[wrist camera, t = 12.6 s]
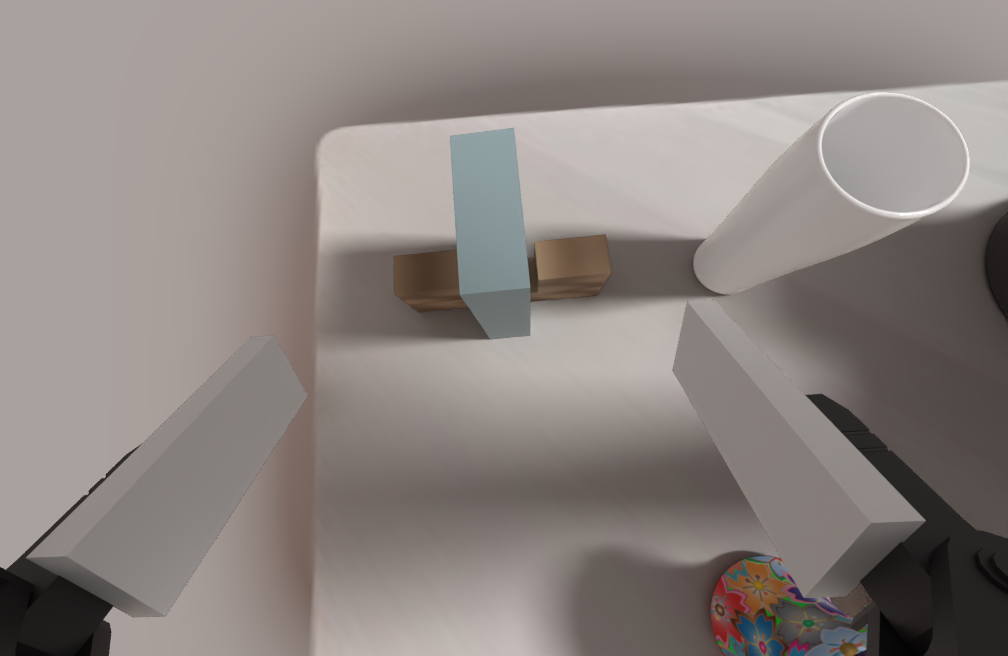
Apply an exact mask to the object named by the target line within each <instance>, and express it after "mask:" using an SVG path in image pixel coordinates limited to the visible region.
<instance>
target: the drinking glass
mask: <svg viewBox="0 0 1008 656" xmlns="http://www.w3.org/2000/svg"><path fill="white" fill-rule="evenodd" d="M969 167H970V159H969V152H968V148H967V145H966V142H965V140H964V138H963V136H962V134H961V132H960V131H959V129H958V128H957V127H956V125H955V124H954V123H953V122H952V121H951V120H950V119H949V118H948V117H947V116H946V115H945V114H944V113H943V112H941V111H940V110H939V109H937V108H936V107H934V106H932V105H931V104H929V103H927V102H925V101H923V100H920V99H918V98H915V97H912V96H908V95H905V94H900V93H893V92H873V93H866V94H861V95H858V96H855V97H852V98H849V99H847V100H845V101H843V102H841V103H840V104H838V105H837V106H835V107H834V108H833V109H831V110H830V111H829V112H828V113H827V114H826V115H825V116H824V117H822V118H821V119H820V120H819V121H818V122H817V123H815V124H814V125H813V126H812V127H811V128H810V129H809V130H807V131H806V132H805V133H804V134H803V135H802V136H801V137H800V138H799V139H798V140H796V141H795V142H794V143H793V144H792V145H791V146H790V147H789V148H788V149H787V150H786V151H785V152H784V153H783V154H782V155H781V156H780V157H779V158H778V159H777V160H776V161H775V162H774V163H773V164H772V165H771V166H770V167H769V168H768V170H767V171H766V172H765V173H764V174H763V175H762V176H761V177H760V179H759V180H758V181H757V182H756V183H755V184H754V186H753V187H752V188H751V189H750V190H749V191H748V193H747V194H746V195H745V196H744V197H743V198H742V200H741V201H740V202H739V203H738V204H737V205H736V207H735V208H734V209H733V210H732V211H731V212H730V214H729V215H728V216H727V217H726V218H725V219H724V220H723V222H722V223H721V224H720V225H719V226H718V227H717V228H716V230H715V231H714V232H713V233H712V234H711V235H710V236H709V237H708V238H707V239H706V240H705V241H704V242H702V243H701V245H700V246H699V247H698V248H697V250H696V252H695V255H694V259H693V268H694V272H695V275H696V277H697V278H698V280H699V281H700V282H701V283H702V284H703V285H704V286H705V287H706V288H708V289H709V290H711V291H713V292H716V293H720V294H736V293H740V292H743V291H745V290H747V289H749V288H751V287H753V286H755V285H758V284H761V283H764V282H766V281H769V280H772V279H775V278H778V277H780V276H783V275H786V274H789V273H792V272H795V271H797V270H800V269H803V268H806V267H809V266H812V265H815V264H818V263H821V262H823V261H826V260H829V259H832V258H835V257H838V256H840V255H843V254H846V253H848V252H851V251H853V250H856V249H859V248H861V247H863V246H866V245H868V244H871V243H873V242H875V241H877V240H880V239H882V238H884V237H886V236H888V235H890V234H893V233H895V232H897V231H899V230H901V229H903V228H905V227H907V226H909V225H911V224H913V223H915V222H917V221H919V220H921V219H923V218H925V217H926V216H928V215H930V214H933V213H935V212H937V211H939V210H941V209H942V208H944V207H945V206H947V205H948V204H949V203H950V202H952V201H953V200H954V199H955V198H956V197H957V196H958V194H959V193H960V192H961V190H962V188H963V187H964V185H965V183H966V180H967V177H968V174H969Z"/></svg>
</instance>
